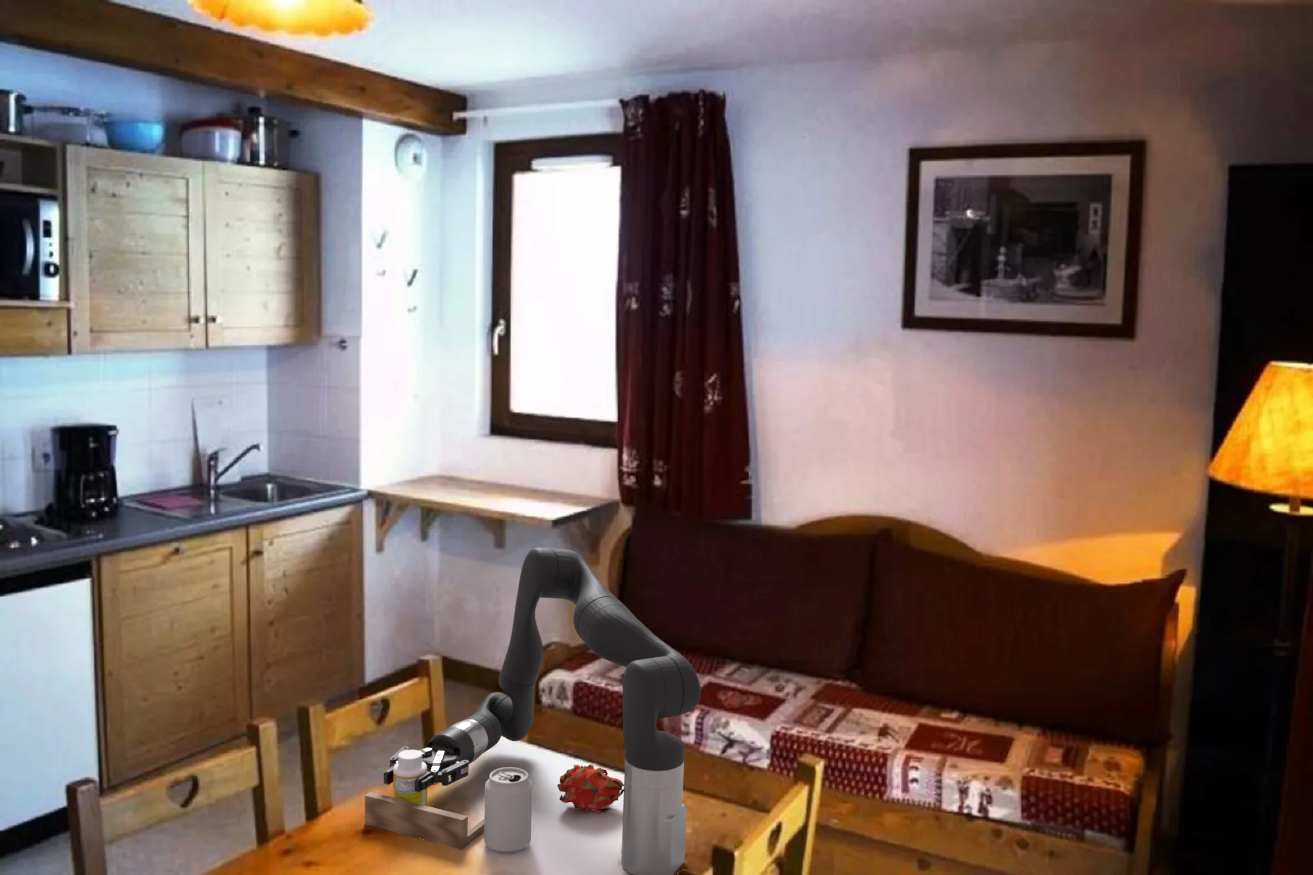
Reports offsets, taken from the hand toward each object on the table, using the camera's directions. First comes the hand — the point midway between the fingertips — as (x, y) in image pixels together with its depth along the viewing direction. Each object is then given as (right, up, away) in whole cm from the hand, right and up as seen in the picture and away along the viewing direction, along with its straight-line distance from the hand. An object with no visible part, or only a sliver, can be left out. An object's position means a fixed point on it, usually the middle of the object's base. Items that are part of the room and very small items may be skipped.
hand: (401, 782), depth 182 cm
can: (+18, -9, -5) cm, 21 cm away
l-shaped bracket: (+4, -7, +1) cm, 9 cm away
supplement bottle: (+1, -6, +3) cm, 7 cm away
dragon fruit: (+31, -8, +9) cm, 33 cm away
